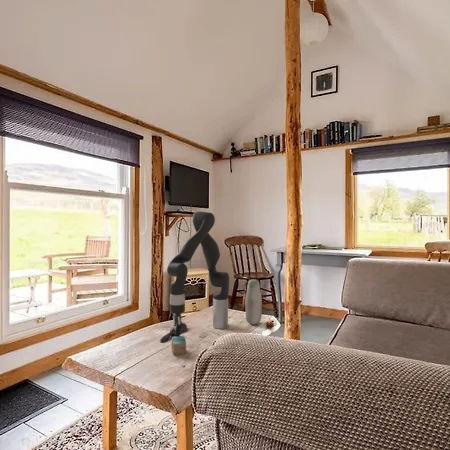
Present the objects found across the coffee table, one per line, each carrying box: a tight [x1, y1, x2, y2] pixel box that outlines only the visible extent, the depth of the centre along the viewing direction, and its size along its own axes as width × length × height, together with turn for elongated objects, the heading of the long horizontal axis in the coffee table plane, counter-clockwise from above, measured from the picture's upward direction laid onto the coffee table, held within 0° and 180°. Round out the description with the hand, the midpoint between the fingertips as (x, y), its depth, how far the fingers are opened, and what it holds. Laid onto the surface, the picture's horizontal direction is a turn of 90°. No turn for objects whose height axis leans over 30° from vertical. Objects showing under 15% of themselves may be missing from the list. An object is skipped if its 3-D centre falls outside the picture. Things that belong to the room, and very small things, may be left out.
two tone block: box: [171, 335, 187, 356], centre depth 155 cm, size 6×6×6 cm
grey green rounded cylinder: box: [244, 278, 263, 326], centre depth 199 cm, size 10×10×28 cm
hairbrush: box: [159, 322, 188, 344], centre depth 179 cm, size 8×4×25 cm
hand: (177, 336), depth 159 cm, fingers closed
